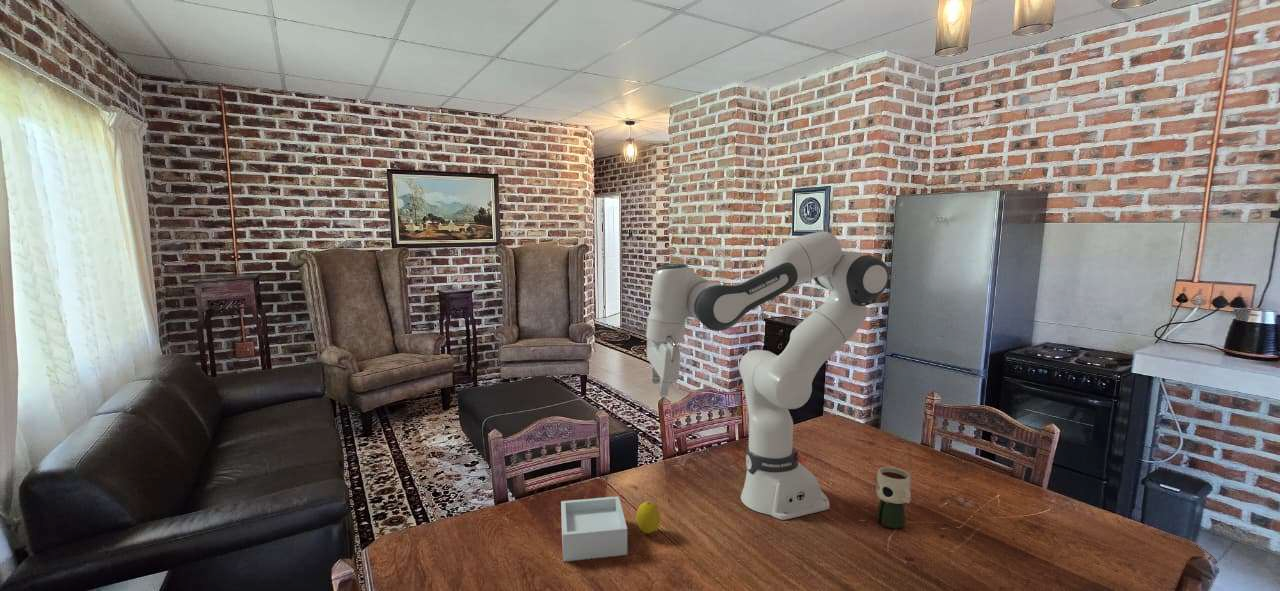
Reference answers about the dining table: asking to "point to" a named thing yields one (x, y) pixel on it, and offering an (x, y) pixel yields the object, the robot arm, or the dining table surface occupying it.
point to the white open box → (593, 528)
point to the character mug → (892, 495)
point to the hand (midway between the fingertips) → (659, 388)
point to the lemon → (648, 517)
